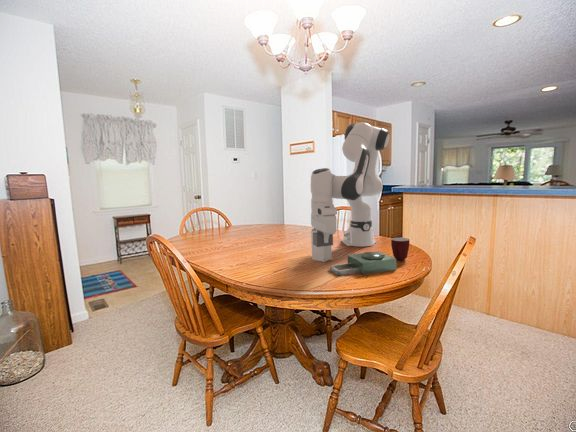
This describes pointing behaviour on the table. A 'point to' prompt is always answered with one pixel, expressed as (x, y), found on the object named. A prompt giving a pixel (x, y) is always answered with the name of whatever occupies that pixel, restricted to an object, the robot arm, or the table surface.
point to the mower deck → (365, 264)
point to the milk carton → (320, 251)
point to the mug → (400, 248)
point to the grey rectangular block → (321, 239)
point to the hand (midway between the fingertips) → (322, 241)
